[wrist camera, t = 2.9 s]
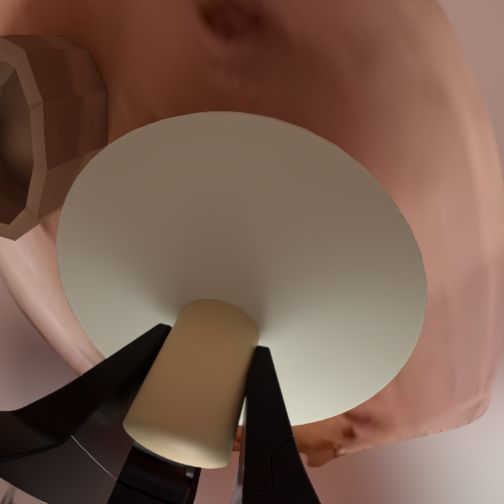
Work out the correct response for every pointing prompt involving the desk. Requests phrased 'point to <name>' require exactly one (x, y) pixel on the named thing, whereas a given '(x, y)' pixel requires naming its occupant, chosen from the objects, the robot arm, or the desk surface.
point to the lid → (239, 273)
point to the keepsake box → (45, 125)
